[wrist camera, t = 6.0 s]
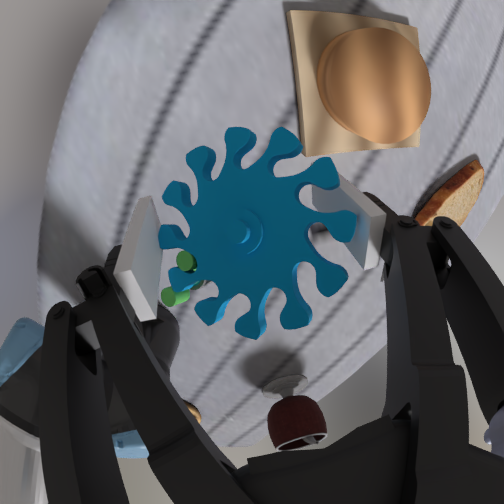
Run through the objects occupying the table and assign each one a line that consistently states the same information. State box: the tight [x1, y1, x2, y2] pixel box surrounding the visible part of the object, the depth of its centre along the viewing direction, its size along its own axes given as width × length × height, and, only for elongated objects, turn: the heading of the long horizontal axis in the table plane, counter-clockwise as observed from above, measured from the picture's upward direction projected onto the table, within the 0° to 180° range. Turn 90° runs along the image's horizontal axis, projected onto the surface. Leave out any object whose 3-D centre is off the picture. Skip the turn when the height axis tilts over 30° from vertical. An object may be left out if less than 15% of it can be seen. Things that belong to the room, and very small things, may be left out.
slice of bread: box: [415, 160, 484, 227], centre depth 40 cm, size 18×18×4 cm
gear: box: [158, 127, 357, 340], centre depth 15 cm, size 11×6×10 cm
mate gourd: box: [262, 375, 328, 451], centre depth 59 cm, size 16×14×20 cm
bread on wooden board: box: [286, 10, 431, 157], centre depth 26 cm, size 18×18×6 cm
